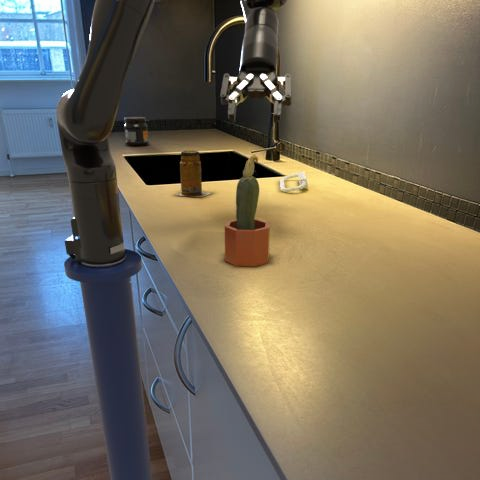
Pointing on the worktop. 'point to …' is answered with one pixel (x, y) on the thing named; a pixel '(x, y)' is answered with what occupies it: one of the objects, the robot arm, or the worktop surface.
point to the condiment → (191, 175)
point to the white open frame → (301, 180)
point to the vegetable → (247, 197)
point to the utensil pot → (247, 244)
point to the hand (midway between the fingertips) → (254, 119)
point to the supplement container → (136, 131)
